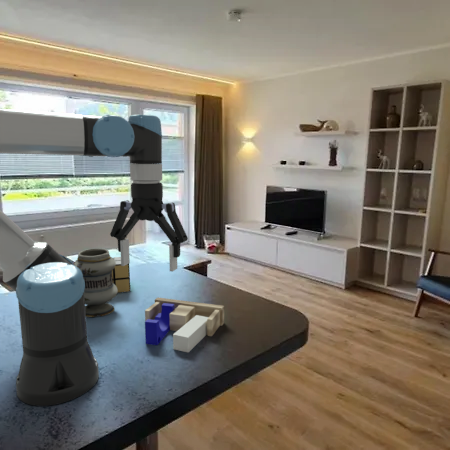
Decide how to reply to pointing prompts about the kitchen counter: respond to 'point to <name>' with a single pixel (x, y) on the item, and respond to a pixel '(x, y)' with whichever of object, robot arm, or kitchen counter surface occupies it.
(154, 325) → the blue stepped long piece
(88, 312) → the apothecary jar
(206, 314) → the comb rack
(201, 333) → the white rectangular bar
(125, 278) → the puzzle cube
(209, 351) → the kitchen counter surface
